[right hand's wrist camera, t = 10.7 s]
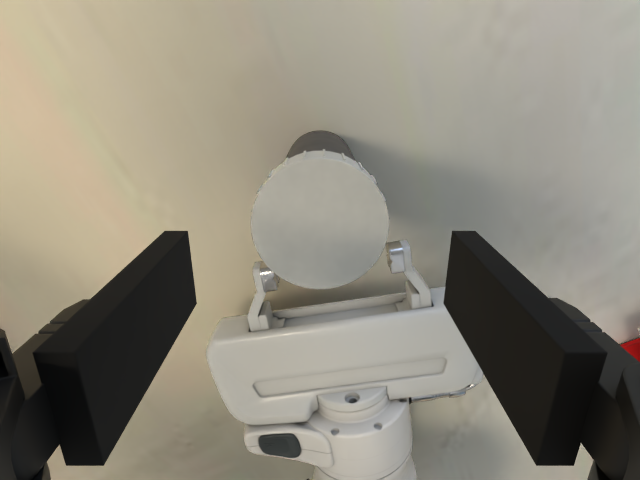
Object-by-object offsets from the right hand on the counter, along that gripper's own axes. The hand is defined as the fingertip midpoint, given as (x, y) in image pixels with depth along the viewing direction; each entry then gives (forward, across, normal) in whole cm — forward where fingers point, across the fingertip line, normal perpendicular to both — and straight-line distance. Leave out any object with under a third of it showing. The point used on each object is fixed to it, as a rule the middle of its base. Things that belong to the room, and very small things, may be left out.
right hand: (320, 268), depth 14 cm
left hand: (+14, -1, +5) cm, 14 cm away
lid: (+5, 0, 0) cm, 5 cm away
